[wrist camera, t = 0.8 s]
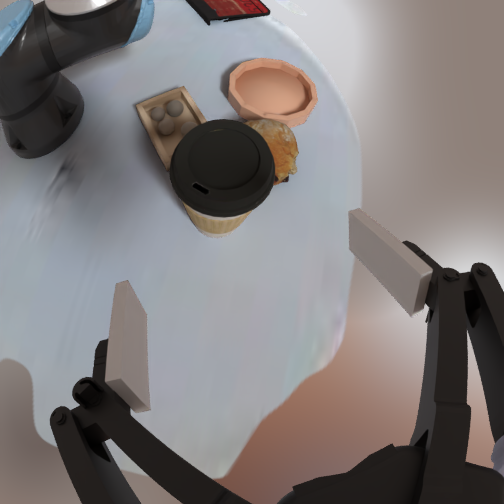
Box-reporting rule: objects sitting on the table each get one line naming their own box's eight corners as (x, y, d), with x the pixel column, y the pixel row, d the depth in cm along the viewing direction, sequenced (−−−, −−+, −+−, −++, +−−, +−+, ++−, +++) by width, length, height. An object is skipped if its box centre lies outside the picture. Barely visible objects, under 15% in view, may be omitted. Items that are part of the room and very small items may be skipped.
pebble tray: (138, 114, 42) (134, 100, 39) (184, 95, 44) (183, 81, 40) (167, 171, 40) (164, 159, 37) (217, 148, 42) (219, 135, 39)
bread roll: (275, 144, 48) (275, 101, 42) (312, 179, 43) (317, 132, 36) (220, 162, 46) (213, 118, 39) (250, 202, 40) (247, 154, 34)
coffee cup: (266, 205, 41) (298, 147, 27) (228, 266, 39) (244, 232, 24) (205, 169, 41) (209, 99, 27) (164, 226, 39) (144, 172, 24)
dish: (213, 80, 45) (214, 70, 43) (282, 61, 49) (285, 52, 46) (256, 140, 44) (259, 131, 41) (328, 115, 47) (333, 106, 45)
